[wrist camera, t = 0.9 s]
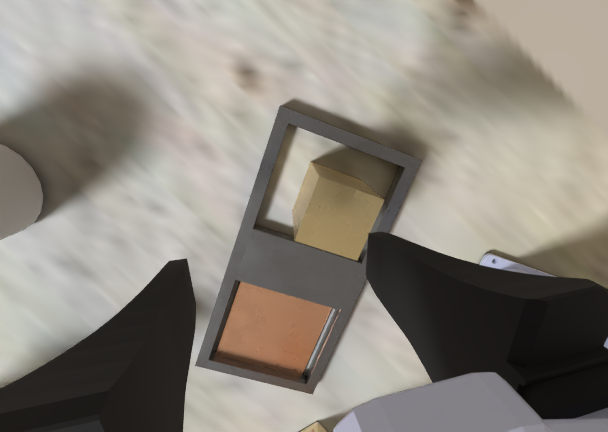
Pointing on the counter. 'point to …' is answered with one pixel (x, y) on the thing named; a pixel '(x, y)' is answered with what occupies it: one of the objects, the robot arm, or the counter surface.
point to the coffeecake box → (314, 428)
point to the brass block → (334, 211)
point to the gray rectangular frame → (291, 280)
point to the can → (17, 193)
